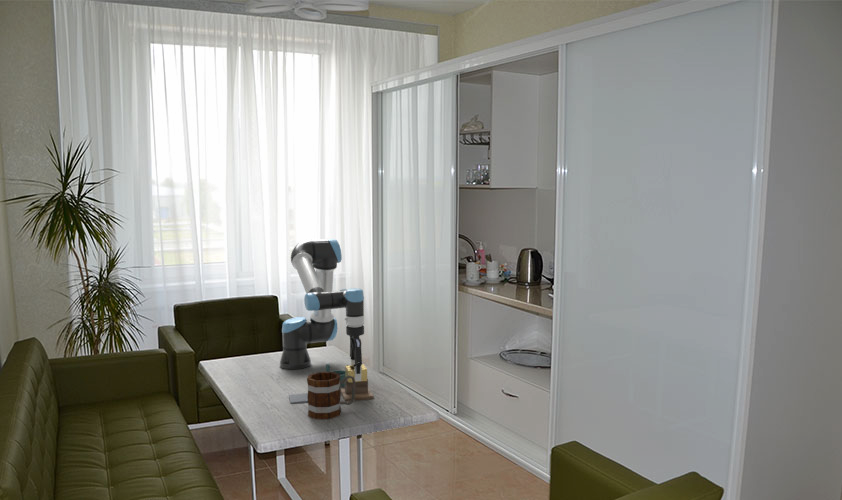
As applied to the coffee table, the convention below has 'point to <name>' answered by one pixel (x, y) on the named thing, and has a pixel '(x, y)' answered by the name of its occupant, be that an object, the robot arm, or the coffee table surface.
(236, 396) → the coffee table surface
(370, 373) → the coffee table surface
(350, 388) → the post stand
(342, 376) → the bracket
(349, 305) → the robot arm
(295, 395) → the felt mat
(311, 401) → the mug
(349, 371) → the hollow wooden square frame
